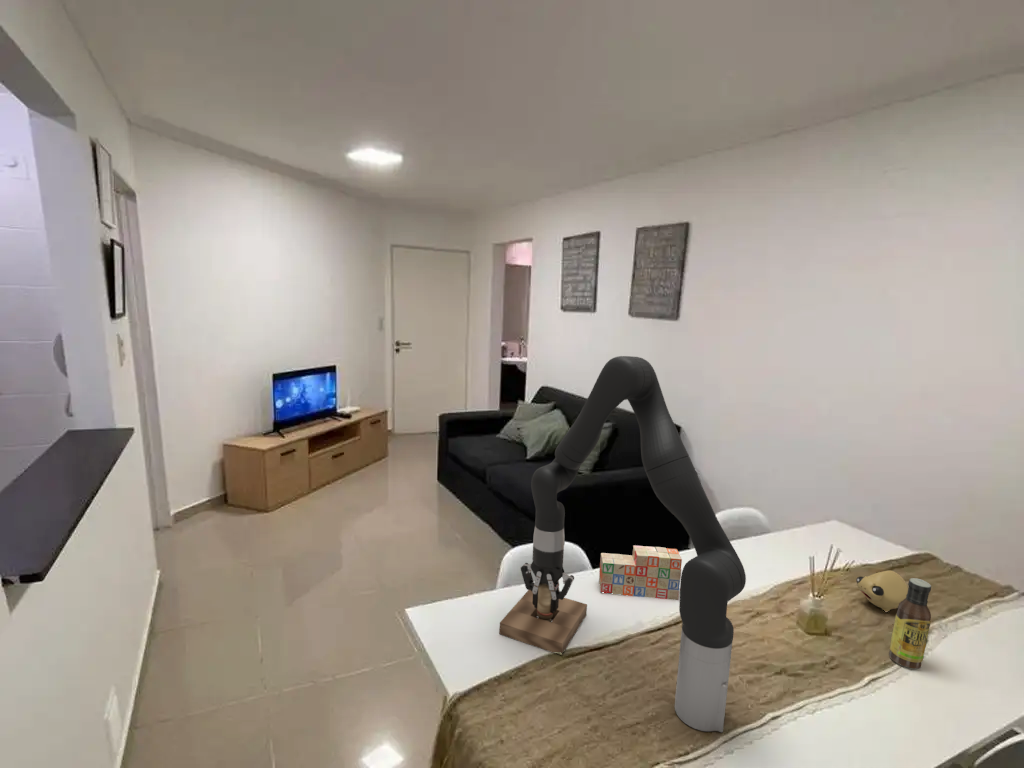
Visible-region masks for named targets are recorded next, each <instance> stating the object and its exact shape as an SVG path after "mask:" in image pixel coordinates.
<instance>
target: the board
mask: <svg viewBox="0 0 1024 768" xmlns="http://www.w3.org/2000/svg"><path fill="white" fill-rule="evenodd" d="M532 602H533V593H532V591H531V590H527V591H526V592H525V593H524V594H523V596H521V598H519V600H518V601H517V602H516V604H515V605H514V606H513V607H512V608H511V609H510V611H509V612H508V613H507V614H506V615H505V616H504V617H503V619H502V620H501V621H500V622H499V632H498V633H499V635H501V636H504V637H506V638H510V639H512V640H516V641H519V642H521V643H524V644H526V645H530V646H533V647H536V648H538V649H542V650H544V651H546V652H547V651H548V652H549V653H553V652H561V653H562V652H563V651H564V650H565V651H566V649H567V648H568V646H569V645H570V643H571V641H572V639H573V638H574V637H575V635H576V633H577V631H578V629H580V626H581V625H582V623H583V622H584V620H585V618H586V616H587V612H588V611H587V610H588V604H586V603H583V602H581V601H577V600H574V599H570V598H566V597H564V599H563V600H561V599H559V606H558V609H557V610H556V612H554V613H553V617H552V618H551V622H548V621H545V620H542V619H539V618H538V616H537V608H534V605H533V603H532ZM565 651H564V652H565Z"/></svg>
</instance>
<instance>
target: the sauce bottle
mask: <svg viewBox="0 0 1024 768" xmlns="http://www.w3.org/2000/svg"><path fill="white" fill-rule="evenodd" d="M907 586H908V593H907V595H906V599H904V600H903V601H901V602H900V603H899V605H898V608H897V611H896V613H895V619H894V623H893V628H892V633H891V637H890V638H891V639H890V644H889V652H888V655H889V657H890V659H891V660H892V661H893V662H894V663H895V664H896V663H897V664H898V665H900V666H902V667H904V668H907V669H911V670H915V669H920V668H922V667H921V666H922V662H923V661H924V657H925V656H924V655H925V651H926V646H927V641H928V637H929V631H930V627H931V619H932V613H931V611H930V609H929V607H928V600H929V595H930V593H931V591H932V585H931V584H930V583H929V582H927V580H923V579H920V578H917V577H916V578H914V577H911V578H909V579H908V583H907Z"/></svg>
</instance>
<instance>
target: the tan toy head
mask: <svg viewBox="0 0 1024 768" xmlns="http://www.w3.org/2000/svg"><path fill="white" fill-rule="evenodd" d="M855 580H856V581H855V582H856V586H857V588H858V590H859V591H860V592H861V593H863V595H864V596H865V597H866V599H867V601H868V600H869V601H868V602H870V603H871V604H872V605H874V606H875V607H878V608H880V609H881V610H882V611H883V610H885V611H889V612H890V610H893V609H898V605H899V603H900V602H901V601H903V600H904V599H906V595H907V593H908V588H909V586H908V583H907V582H906V580H905V578H903V577H902V576H901V575H900V574H899V573H897V572H896V571H894V570H883V571H879V572H876V573H872V574H870V575H868V576H866V575H865V576H858V577H857V578H856V579H855Z"/></svg>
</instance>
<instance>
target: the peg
mask: <svg viewBox="0 0 1024 768" xmlns="http://www.w3.org/2000/svg"><path fill="white" fill-rule="evenodd" d="M551 599H552V595H551V591H550V589H549V585H547V584H545V583H541V584H540V585H539V587H538V603H537V616H538V617H537V618H539V619H542V620H545V621H548V622H552V619H551V618H552V617H553V613H551V612H550V609H551Z"/></svg>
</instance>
